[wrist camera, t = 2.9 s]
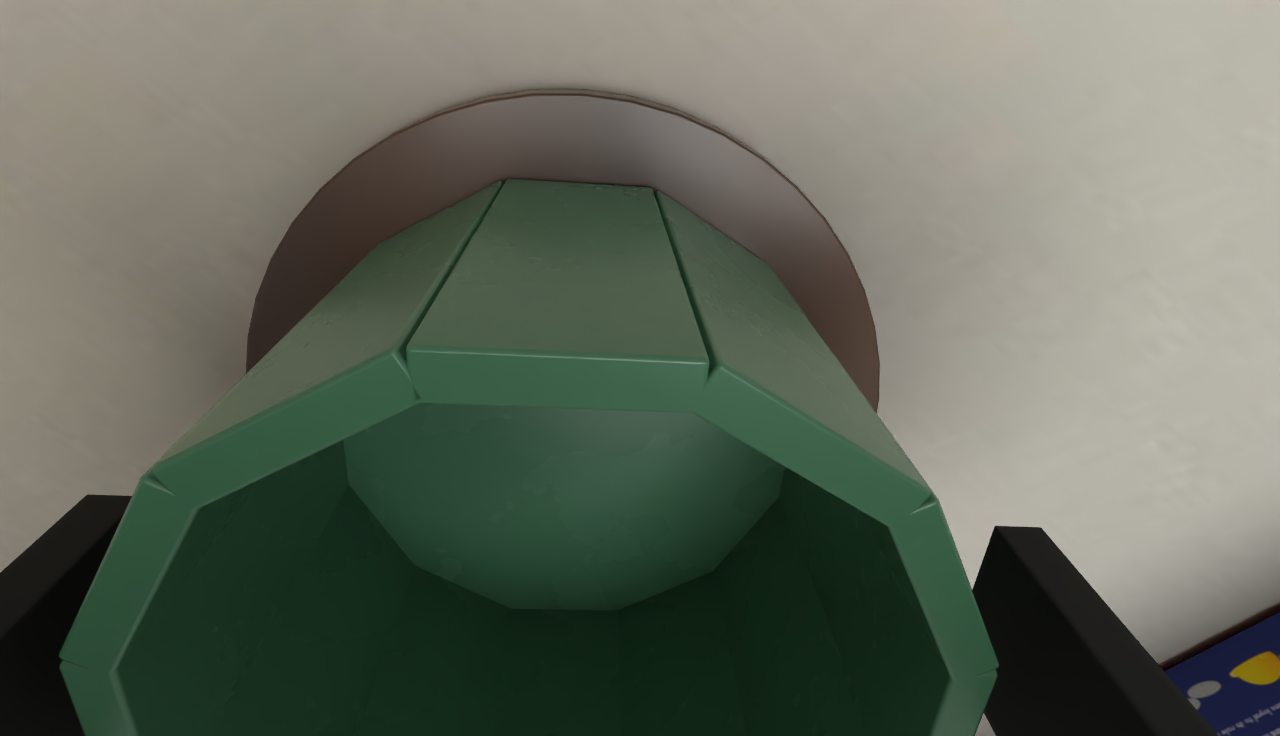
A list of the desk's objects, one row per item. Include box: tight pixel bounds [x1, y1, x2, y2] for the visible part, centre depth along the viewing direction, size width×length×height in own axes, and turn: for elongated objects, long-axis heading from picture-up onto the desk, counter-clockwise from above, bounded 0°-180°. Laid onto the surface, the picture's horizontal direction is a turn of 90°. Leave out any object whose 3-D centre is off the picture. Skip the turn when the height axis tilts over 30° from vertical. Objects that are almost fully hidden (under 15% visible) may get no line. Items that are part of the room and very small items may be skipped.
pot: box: [59, 179, 999, 736], centre depth 14 cm, size 11×17×8 cm, turn 176°
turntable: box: [246, 89, 880, 414], centre depth 17 cm, size 14×14×1 cm
